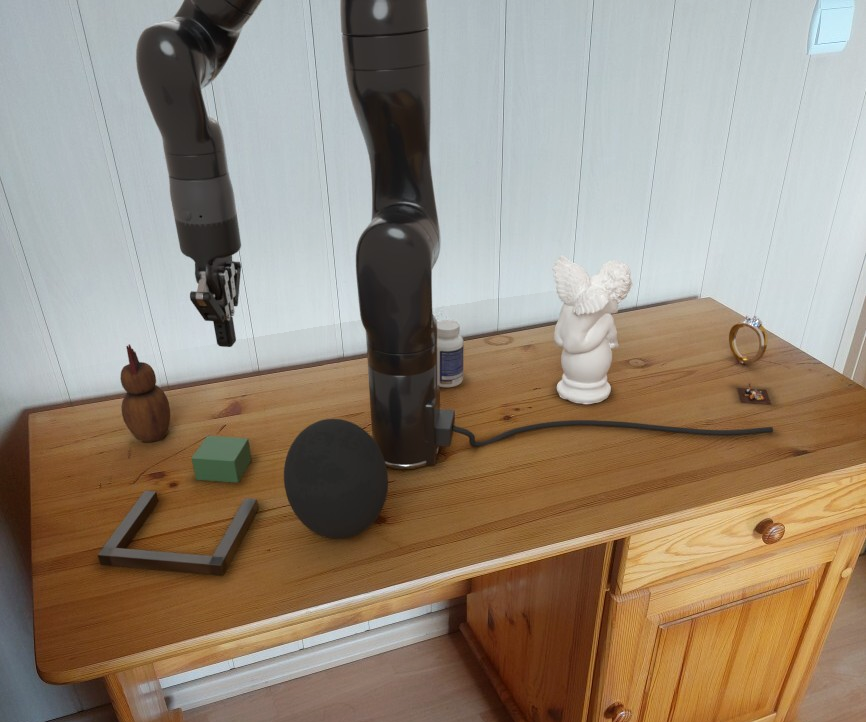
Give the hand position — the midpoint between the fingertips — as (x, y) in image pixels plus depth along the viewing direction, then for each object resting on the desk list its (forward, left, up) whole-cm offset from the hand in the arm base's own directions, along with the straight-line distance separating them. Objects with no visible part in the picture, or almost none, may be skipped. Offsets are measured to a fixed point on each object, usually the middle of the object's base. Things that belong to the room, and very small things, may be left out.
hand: (227, 344), depth 111 cm
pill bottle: (-27, -22, -15) cm, 38 cm away
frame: (0, +23, -15) cm, 27 cm away
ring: (-76, -35, -15) cm, 85 cm away
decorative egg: (-19, +20, -15) cm, 32 cm away
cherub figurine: (-49, -19, -15) cm, 55 cm away
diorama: (-76, -23, -15) cm, 81 cm away
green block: (0, +9, -15) cm, 17 cm away
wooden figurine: (+14, +1, -15) cm, 20 cm away
